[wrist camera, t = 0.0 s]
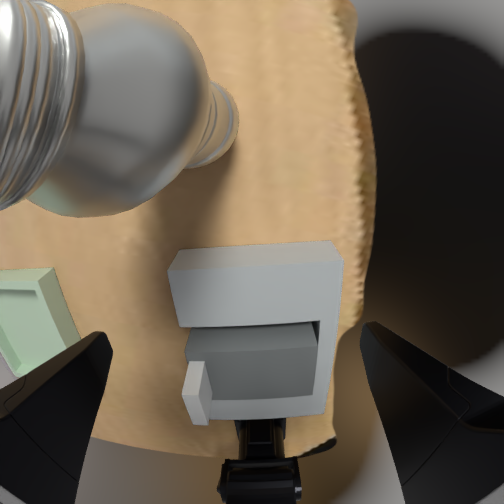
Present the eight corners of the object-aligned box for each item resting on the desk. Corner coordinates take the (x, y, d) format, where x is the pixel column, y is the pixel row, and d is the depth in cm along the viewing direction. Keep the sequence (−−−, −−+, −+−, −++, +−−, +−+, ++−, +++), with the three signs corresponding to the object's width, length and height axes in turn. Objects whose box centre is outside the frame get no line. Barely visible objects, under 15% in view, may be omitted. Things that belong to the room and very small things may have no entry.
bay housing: (318, 387, 30) (323, 413, 26) (210, 392, 31) (206, 419, 27) (330, 240, 23) (344, 260, 20) (179, 249, 24) (166, 270, 20)
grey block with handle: (303, 351, 28) (318, 426, 19) (206, 355, 28) (193, 430, 20) (305, 302, 26) (326, 379, 17) (196, 308, 26) (175, 385, 17)
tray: (101, 379, 31) (92, 395, 28) (23, 363, 31) (15, 375, 28) (53, 267, 24) (37, 280, 22) (-20, 271, 25) (-33, 281, 22)
